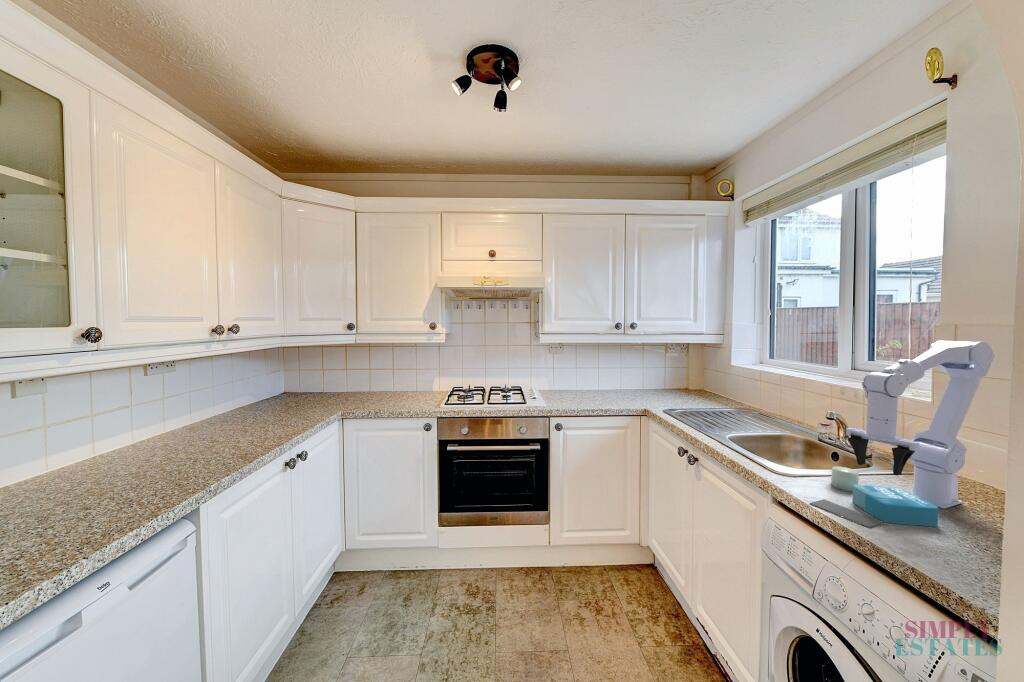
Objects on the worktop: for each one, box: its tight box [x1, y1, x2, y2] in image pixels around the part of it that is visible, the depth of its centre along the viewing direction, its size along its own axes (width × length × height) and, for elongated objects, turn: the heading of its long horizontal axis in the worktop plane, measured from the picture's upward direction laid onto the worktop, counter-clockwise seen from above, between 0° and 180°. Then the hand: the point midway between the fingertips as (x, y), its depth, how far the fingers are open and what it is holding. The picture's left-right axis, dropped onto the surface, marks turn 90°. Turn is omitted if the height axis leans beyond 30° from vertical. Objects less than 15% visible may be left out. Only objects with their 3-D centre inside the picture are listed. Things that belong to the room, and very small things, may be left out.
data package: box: [851, 484, 940, 528], centre depth 98 cm, size 12×4×12 cm
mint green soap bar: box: [830, 465, 860, 492], centre depth 114 cm, size 6×6×5 cm
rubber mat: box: [809, 498, 885, 529], centre depth 98 cm, size 6×13×1 cm, turn 22°
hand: (878, 469), depth 103 cm, fingers open, 7 cm apart
